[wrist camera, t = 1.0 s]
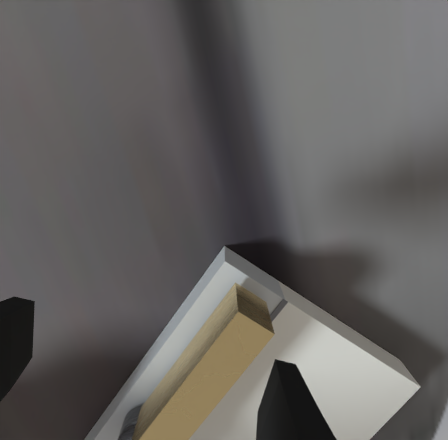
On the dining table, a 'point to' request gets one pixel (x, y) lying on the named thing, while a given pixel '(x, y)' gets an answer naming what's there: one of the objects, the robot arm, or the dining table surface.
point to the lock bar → (203, 370)
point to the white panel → (262, 365)
